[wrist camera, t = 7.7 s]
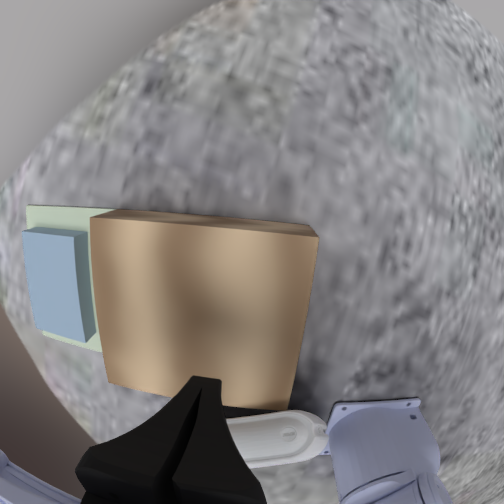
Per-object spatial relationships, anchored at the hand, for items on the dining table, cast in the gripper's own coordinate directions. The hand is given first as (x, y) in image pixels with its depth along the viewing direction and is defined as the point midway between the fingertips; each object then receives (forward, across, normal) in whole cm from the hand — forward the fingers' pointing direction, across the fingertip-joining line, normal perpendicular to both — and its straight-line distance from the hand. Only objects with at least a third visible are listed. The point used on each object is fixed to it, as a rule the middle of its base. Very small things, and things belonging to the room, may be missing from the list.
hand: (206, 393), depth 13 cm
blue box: (+8, +15, 0) cm, 17 cm away
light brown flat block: (+10, +2, 0) cm, 10 cm away
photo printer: (+6, +3, +13) cm, 15 cm away
